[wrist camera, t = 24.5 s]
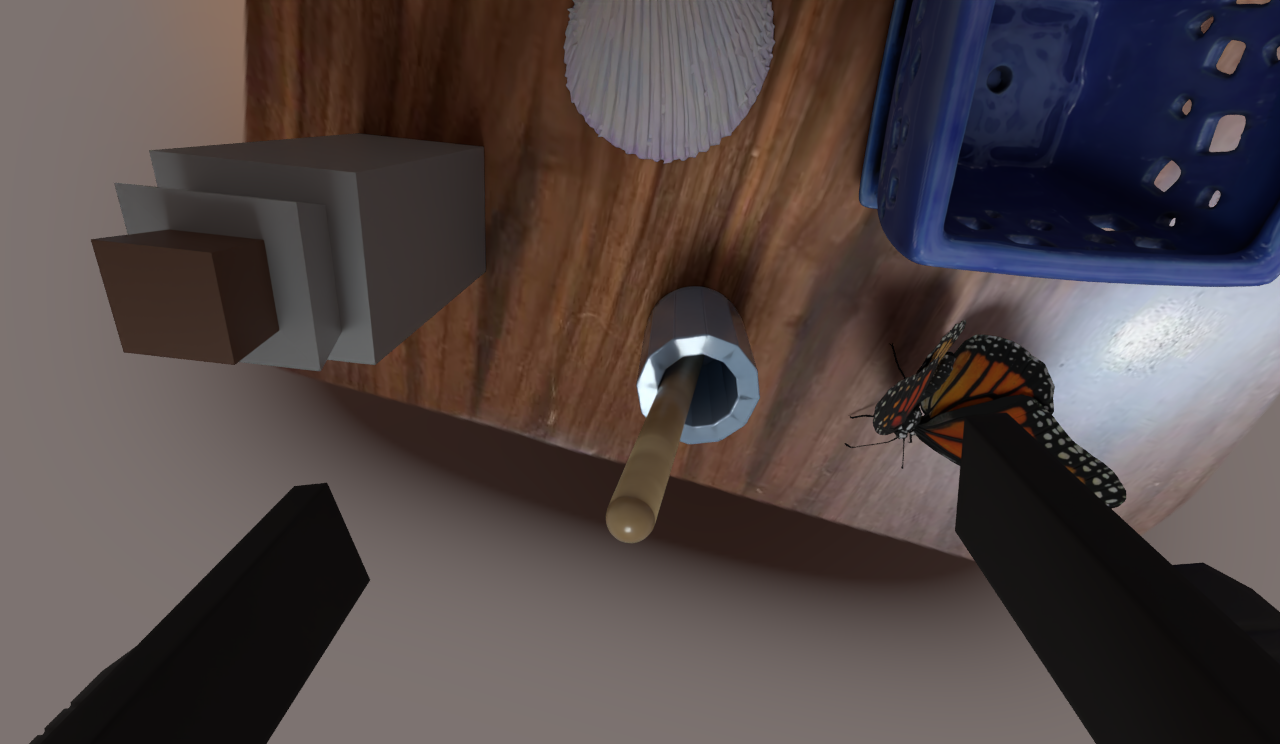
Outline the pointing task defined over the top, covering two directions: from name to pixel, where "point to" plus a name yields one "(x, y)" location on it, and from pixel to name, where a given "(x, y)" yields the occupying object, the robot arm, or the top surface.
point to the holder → (727, 370)
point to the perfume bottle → (294, 248)
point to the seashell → (667, 70)
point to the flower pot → (1078, 140)
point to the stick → (653, 454)
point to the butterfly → (985, 404)
